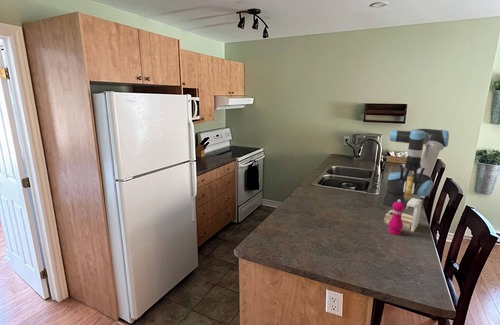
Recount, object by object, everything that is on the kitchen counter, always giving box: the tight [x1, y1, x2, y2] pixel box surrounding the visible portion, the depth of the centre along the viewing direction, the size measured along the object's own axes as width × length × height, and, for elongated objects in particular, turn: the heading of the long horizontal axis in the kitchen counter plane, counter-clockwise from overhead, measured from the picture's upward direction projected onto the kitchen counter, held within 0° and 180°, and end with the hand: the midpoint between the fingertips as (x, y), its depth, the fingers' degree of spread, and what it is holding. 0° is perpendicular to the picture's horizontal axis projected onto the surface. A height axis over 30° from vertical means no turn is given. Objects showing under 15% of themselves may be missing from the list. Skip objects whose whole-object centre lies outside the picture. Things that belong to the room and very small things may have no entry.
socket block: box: [383, 209, 413, 231], centre depth 164 cm, size 12×14×5 cm
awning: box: [405, 197, 423, 233], centre depth 159 cm, size 12×6×16 cm, turn 137°
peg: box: [404, 174, 414, 200], centre depth 169 cm, size 4×4×14 cm
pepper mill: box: [387, 199, 406, 236], centre depth 151 cm, size 7×7×20 cm
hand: (408, 192), depth 170 cm, fingers closed on peg, 4 cm apart
